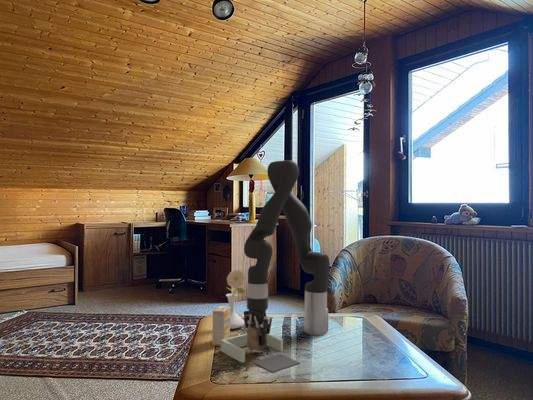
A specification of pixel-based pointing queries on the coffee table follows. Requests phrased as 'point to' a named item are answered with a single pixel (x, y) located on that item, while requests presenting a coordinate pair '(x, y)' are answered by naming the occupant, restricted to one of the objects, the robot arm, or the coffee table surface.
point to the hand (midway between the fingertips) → (256, 343)
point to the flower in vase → (235, 280)
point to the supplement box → (221, 324)
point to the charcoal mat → (276, 363)
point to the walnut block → (254, 337)
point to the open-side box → (234, 343)
